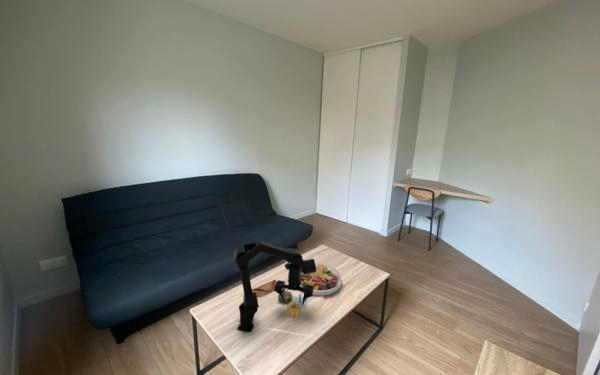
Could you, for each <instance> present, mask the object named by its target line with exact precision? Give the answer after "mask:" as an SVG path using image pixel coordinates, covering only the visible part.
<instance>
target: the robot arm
mask: <svg viewBox="0 0 600 375" xmlns="http://www.w3.org/2000/svg"><path fill="white" fill-rule="evenodd" d="M261 253H263V254H265V255H270V256H273V257H276V258H280V259H283V260H284V261H286V262H287V263H286V264H284V268H285V269H286V270H288V276H287V282H288V284H286V281H284V280H276V284H275V287H274V292H276V293H277V294H278V295H280V296H281V298H282V300H283V301H284V303H285V291H288V290H289V291H298V292H302V291H303V296H302V298H303V301H302V305H303V304H304V302H305V300H306V299H307V298H308V299H309V298H312V297H313V296H314V295H313V290H314V287H313V285H307V284H306V286H305V287H301V286H300V285H301V280H302V274H300V272H302V273H303V274H310V273H315V272H316V265H315V263H316V261H315V259H314V258H310V259H303V256H302V254H301V253H300V251H299V250H298V249H297V248H293V247H287V248H286V247H285V248H284V247H281V246H278V245H274V244H271V243H269V242H268V243H267V242H264V241H262V240H256V241H254V242H248V243H246V244H243V245H239V246H237V247H236V248H235V249H234V250H233V254H234V259H235V263H236V265H237V268H238V269H239V273H240V278H241V284H242V290H243V298H242V299H243V301H242V302H241V303H240V304H239V306H238V309H239V310H238V311H239V324H238V327H237V328H236V329H237V331H241V332H246V333H251V332H252V330H253V328H254V326H255V324H254V323H253V322H254V321H253V320H254V318H255V315H256V313H257V312H258V310H259V308H260V304H259V300H258V299H259V298H257V295H256V292H254V293H253V292H252V283H251V282H252V281H251V277H250V271H249V266H250V261H252V260H253V259H254V258H256V256H257V255H259V254H261Z"/></svg>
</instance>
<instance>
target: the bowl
mask: <svg viewBox="0 0 600 375" xmlns="http://www.w3.org/2000/svg"><path fill="white" fill-rule="evenodd" d="M315 265H316V272H315V273H310V274H303V273H302V272H300V274H302V280H301V285H300V286H301V287H305V286H306V284H307V285H313V287H314V290H313V295H312V296H315V297H316V296H318V297H319V296H324V297H325V296H329V295H333V294H334V293H335V292H337V290H339V288H340V287H341V285H342V282H343V276H342V274H341V272H339V270H337V269H336V268H334V267H333V266H331V265H328V264H324V263H319V262H318V263H317V262H315ZM301 292H303V291H301ZM303 293H304V292H303Z"/></svg>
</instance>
